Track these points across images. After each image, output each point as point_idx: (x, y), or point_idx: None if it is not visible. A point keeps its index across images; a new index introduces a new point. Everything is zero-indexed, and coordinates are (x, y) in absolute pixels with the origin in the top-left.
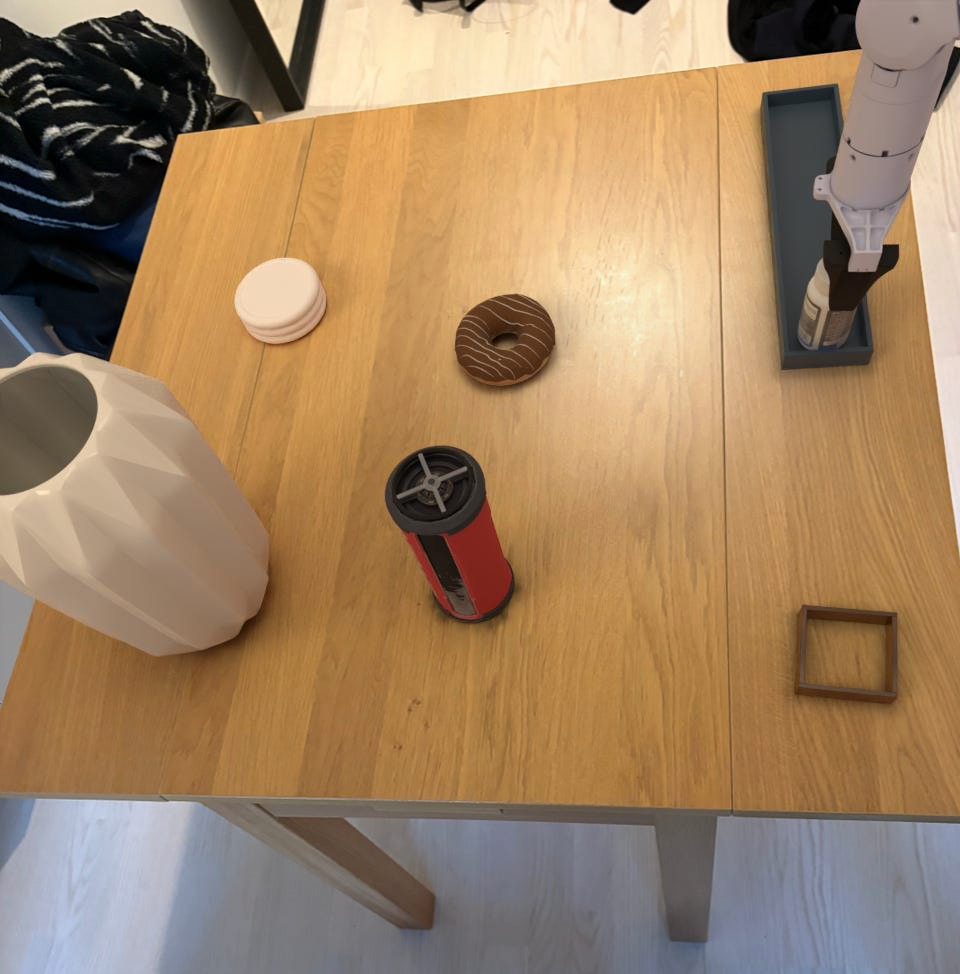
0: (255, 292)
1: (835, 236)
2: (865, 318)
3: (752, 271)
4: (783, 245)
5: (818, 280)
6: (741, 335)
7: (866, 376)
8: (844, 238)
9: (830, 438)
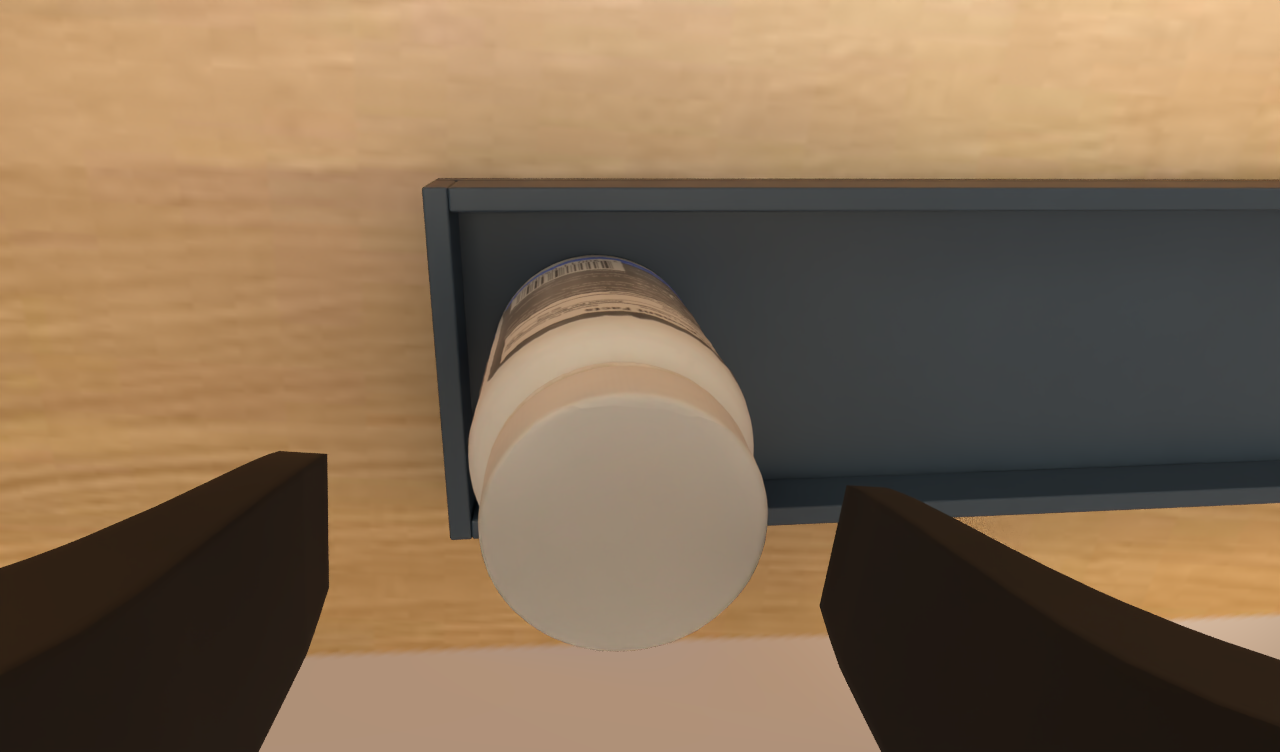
0: None
1: (867, 526)
2: None
3: (1001, 88)
4: (1095, 229)
5: (562, 395)
6: (644, 8)
7: (405, 489)
8: (847, 570)
9: (82, 351)
